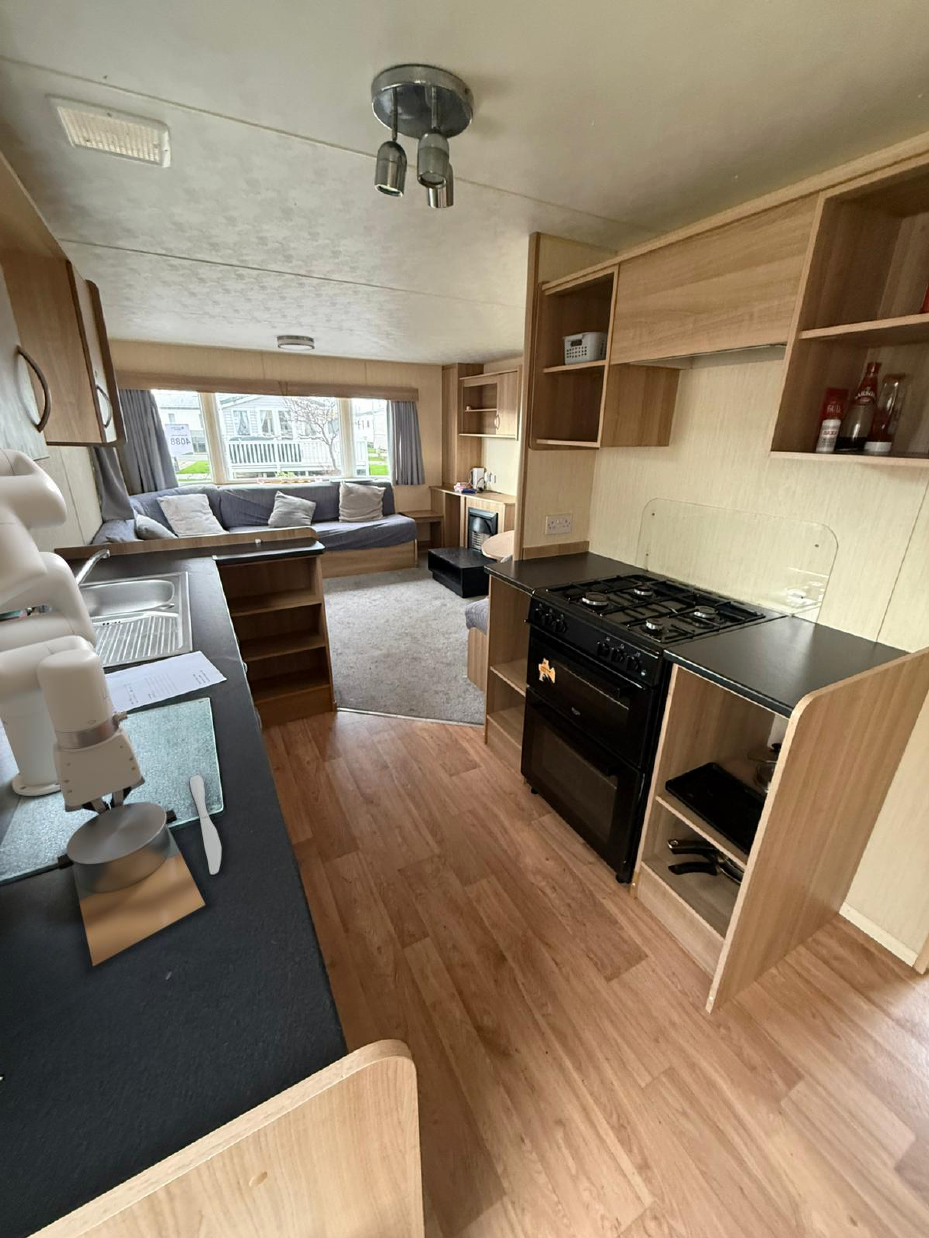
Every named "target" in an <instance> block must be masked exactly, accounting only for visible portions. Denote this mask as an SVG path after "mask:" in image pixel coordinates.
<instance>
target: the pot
mask: <svg viewBox="0 0 929 1238" xmlns="http://www.w3.org/2000/svg"><path fill="white" fill-rule="evenodd" d="M176 821H178V817H177V814H176V812H175V810H174V809H173V808H172V809H169V810H167V811H166V810H165V808H164V807H162V806H161V805H159V804H157V803H155V802H149V801H136V802H135V801H134V802H130V803H125V804H123V805H121V806H118V807H115V808H112V809H111V808H110V809H109V810H107V811H105V812H103V813H101V814H97V815H95V816H93V817H92V818H90V819H89V820H87V821H86V822H85V823H83V824H82V825H80V827H78V828H77V829H76V830H75V832H74V833H73V834H72V835H71V836H70V838H69V840H68V841H67V844H66V848H65V849H66V853H64V854H62V855H59V856H57V858H56V859H57V865H58V868H59V871H63V870H65V869H68V868H70V867H72V865H74V867H75V870H76V873H77V876H78V879H79V882H80V884H81V886H82V887H83V888H85V889H86V890H88V891H92V892H98V893H100V892H111V891H116V890H120V889H123V888H126V887H129V886H131V885H133V884H135V883H137V882H139V881H141V880H143V879H144V878H146V877H147V876H149V875H150V874H152V873H153V872H154V871H155V870H157V869H158V868H159V867H160V866H161V865H162V863H163V862H164V861H165V860H166V858H167V857H168V855H169V852H170V849H171V841H170V837H169V833H168V829H167V826H168V825H169V824H172V823H174V822H176Z"/></svg>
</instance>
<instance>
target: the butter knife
mask: <svg viewBox="0 0 929 1238" xmlns="http://www.w3.org/2000/svg"><path fill="white" fill-rule="evenodd" d="M189 785H190V791H191V795H192V797H193V799H194V802H195V804H196V809H197V812H198V816H199V820H200V821H199V822H200V827H201V833H202V834H201V835H202V839H203V846H204V851H205V855H206V859H207V863H208V870H209V874H210V876H211V875H212V876H213V875H216V874H217V873H219V871H220V866H221V862H222V850H223V849H222V844H221V840H220V837H219V833H218V830H217V828H216V827H215V825H214V824H213V822H212V820H211V818H210V816H209V813H208V810H207V806H206V789H205V783H204V779H203V777H202V776H200V775H199V774H197V775H193V776H191V778H190V779H189Z"/></svg>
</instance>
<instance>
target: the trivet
mask: <svg viewBox="0 0 929 1238" xmlns="http://www.w3.org/2000/svg"><path fill="white" fill-rule="evenodd" d="M78 902H79V906H80V912H81V916H82V920H83V925H84V930H85V935H86V940H87V944H88V948H89V953H90V958H91V963H92V967H95V966H97V965H99V964H101V963H102V962H105V961H106V960H109V959H110V958H111V957H114V956H115V955H118V954H119V953H121V952H123V951H125V950H126V949H128V948H130V947H132V946H134V945H135V944H138V943H139V942H141V941H142V940H144V939H146V938H148V937H150V936H151V935H154V934H155V933H157V932H159V931H161V930H163V929H164V928H166V927H168V926H171V924H173V923H175V922H177V921H179V920H181V919H183V918H185V917H187V916H188V915H190V914H192V913H193V912H195V911H197V910H199V909H201V908H203V907H204V906H206V903H205V901H204V899H203V897H202V895H201V893H200V891H199V889H198V887H197V884H196V882H195V880H194V878H193V876H192V874H191V872H190V870H189V868H188V866H187V864H186V861H185V859H184V858H183V855H182V853H181V852H180V853H179V854H177V855H175V856H173V857H171V858H169V859H167V860H165V861H164V862H163V863H162V865H161V866H160V867H159V868H158V869H157V870H155V871H154V872H153V873H152V874H150V875H149V876H147V877H146V878H144V879H143V880H141V881H139V882H137V883H135V884H133V885H131V886H129V887H126V888H123V889H120V890H116V891H111V892H100V893H98V892H97V893H95V894H93V895H91V896H89V897H87V898H85V899H82V900H80V901H79V900H78Z"/></svg>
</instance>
